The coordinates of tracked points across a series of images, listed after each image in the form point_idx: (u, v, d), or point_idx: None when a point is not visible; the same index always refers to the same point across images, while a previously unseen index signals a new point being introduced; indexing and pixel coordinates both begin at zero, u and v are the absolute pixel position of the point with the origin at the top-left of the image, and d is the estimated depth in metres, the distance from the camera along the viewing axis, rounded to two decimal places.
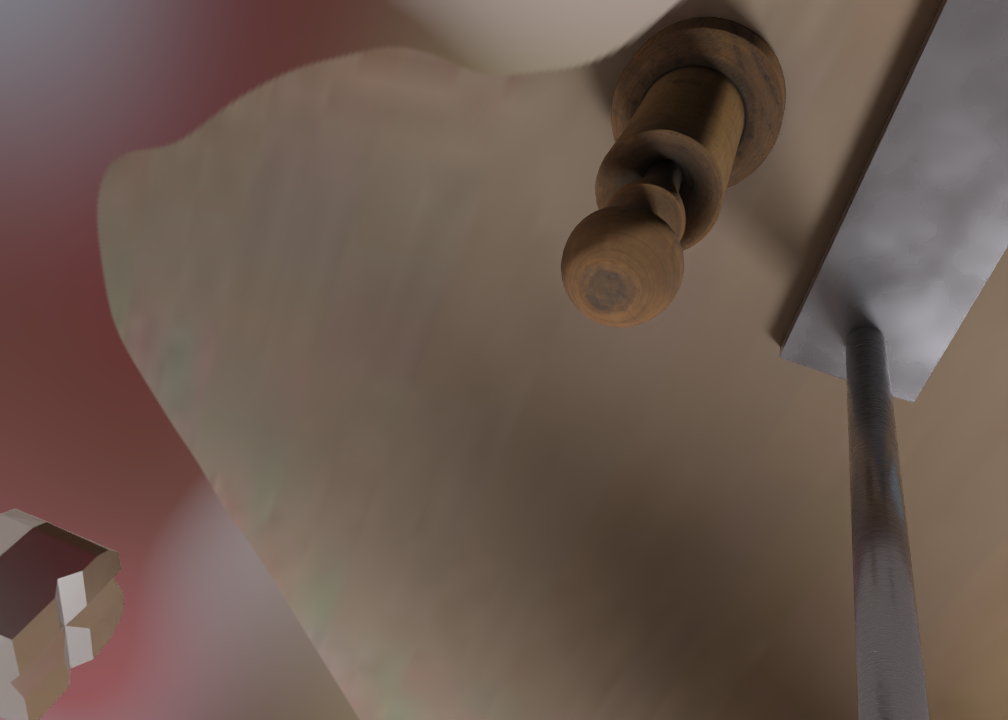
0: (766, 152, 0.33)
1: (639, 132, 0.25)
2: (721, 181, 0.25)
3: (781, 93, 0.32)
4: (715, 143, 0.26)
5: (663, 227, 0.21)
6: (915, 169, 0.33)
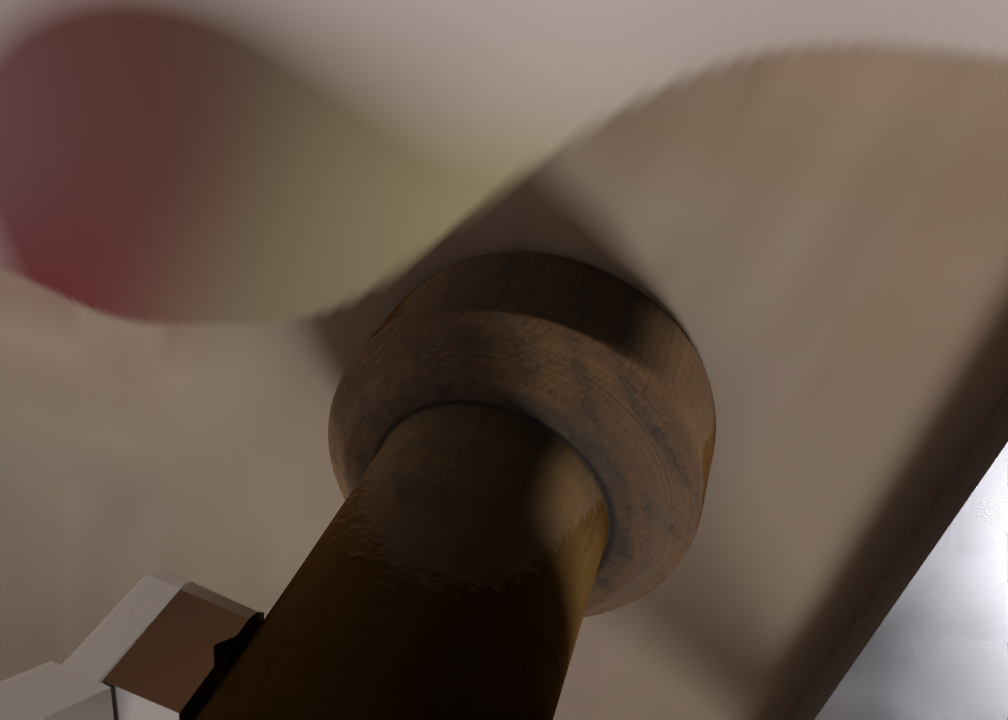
0: (669, 569, 0.14)
1: None
2: None
3: (696, 460, 0.13)
4: None
5: None
6: None
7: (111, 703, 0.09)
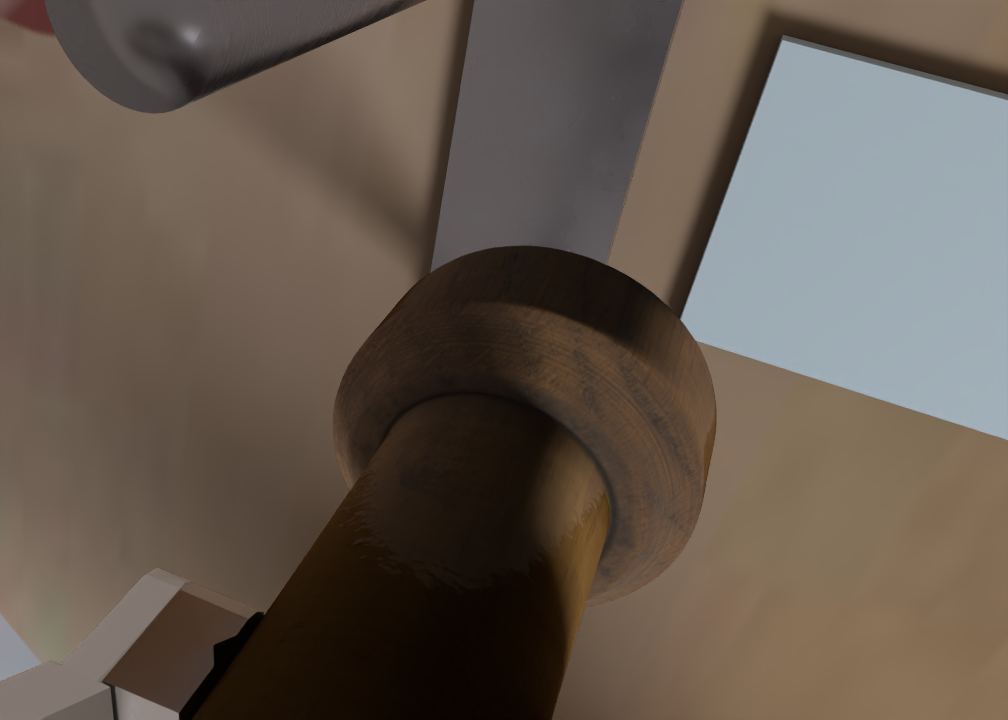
0: (670, 558, 0.14)
1: None
2: None
3: (697, 449, 0.13)
4: None
5: None
6: (501, 134, 0.28)
7: (111, 703, 0.09)
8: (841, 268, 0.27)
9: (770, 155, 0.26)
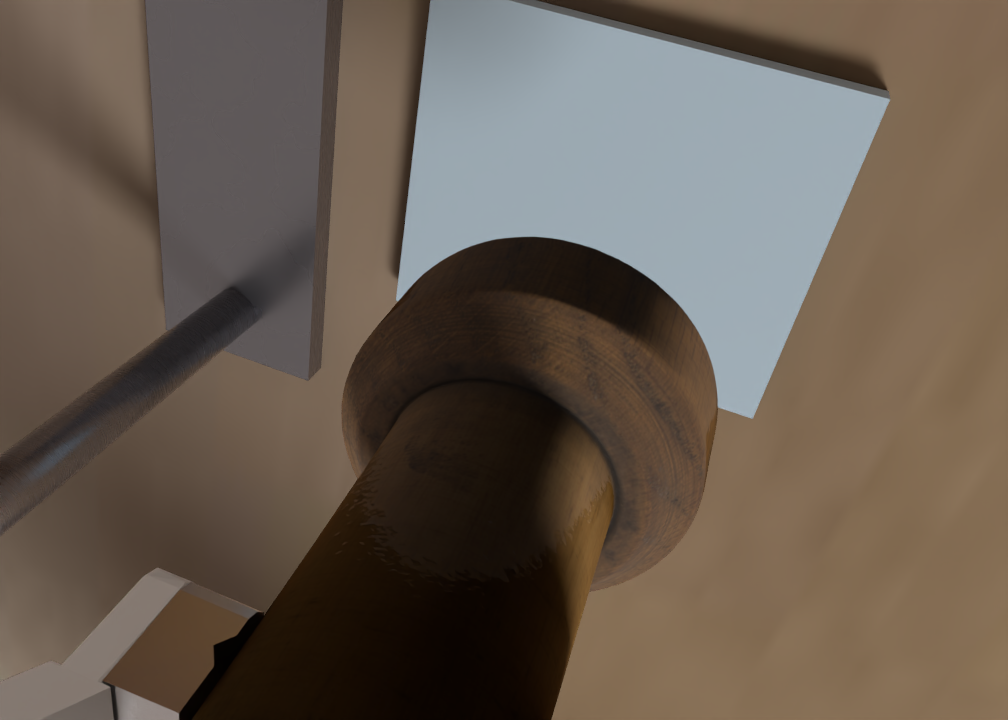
0: (673, 542, 0.15)
1: None
2: None
3: (699, 434, 0.14)
4: None
5: None
6: (194, 89, 0.27)
7: (111, 703, 0.09)
8: (536, 227, 0.25)
9: (446, 106, 0.24)
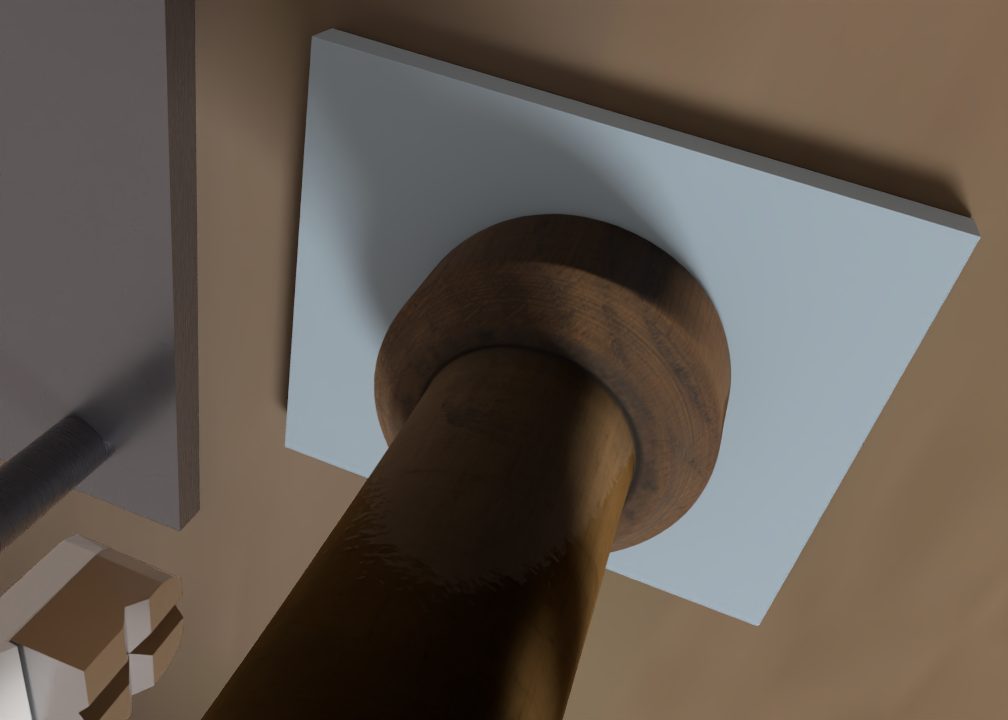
0: (689, 503, 0.15)
1: None
2: None
3: (715, 398, 0.14)
4: None
5: None
6: (0, 167, 0.19)
7: (19, 662, 0.10)
8: None
9: (339, 208, 0.17)
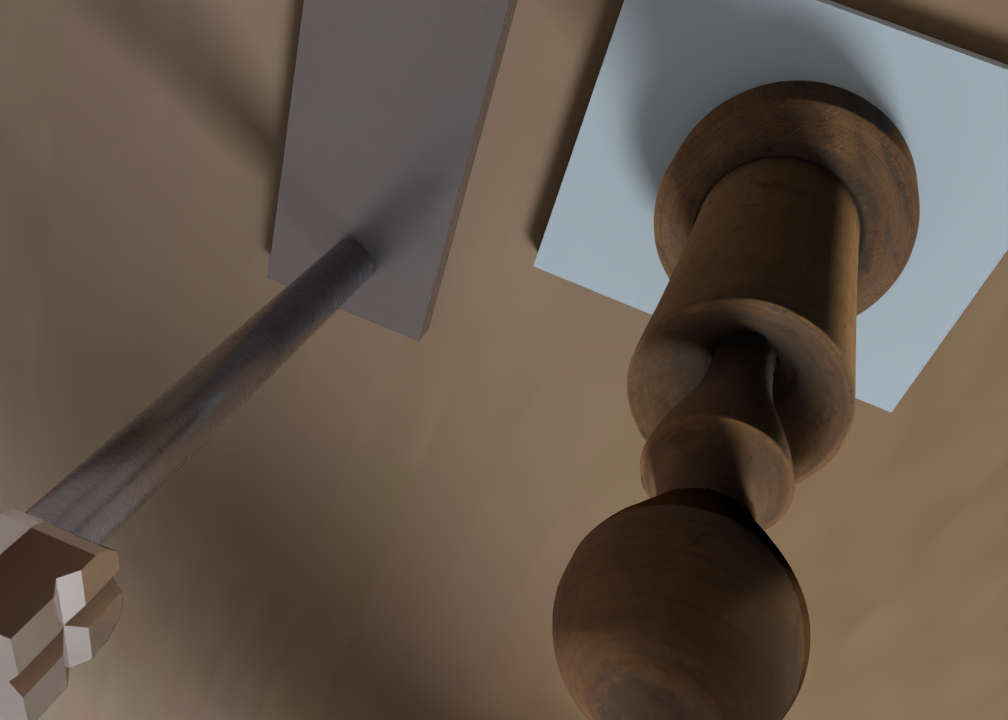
0: (883, 291, 0.22)
1: (716, 298, 0.14)
2: (854, 398, 0.14)
3: (918, 209, 0.21)
4: (843, 321, 0.15)
5: (778, 581, 0.10)
6: (351, 28, 0.25)
7: None
8: None
9: (632, 71, 0.24)
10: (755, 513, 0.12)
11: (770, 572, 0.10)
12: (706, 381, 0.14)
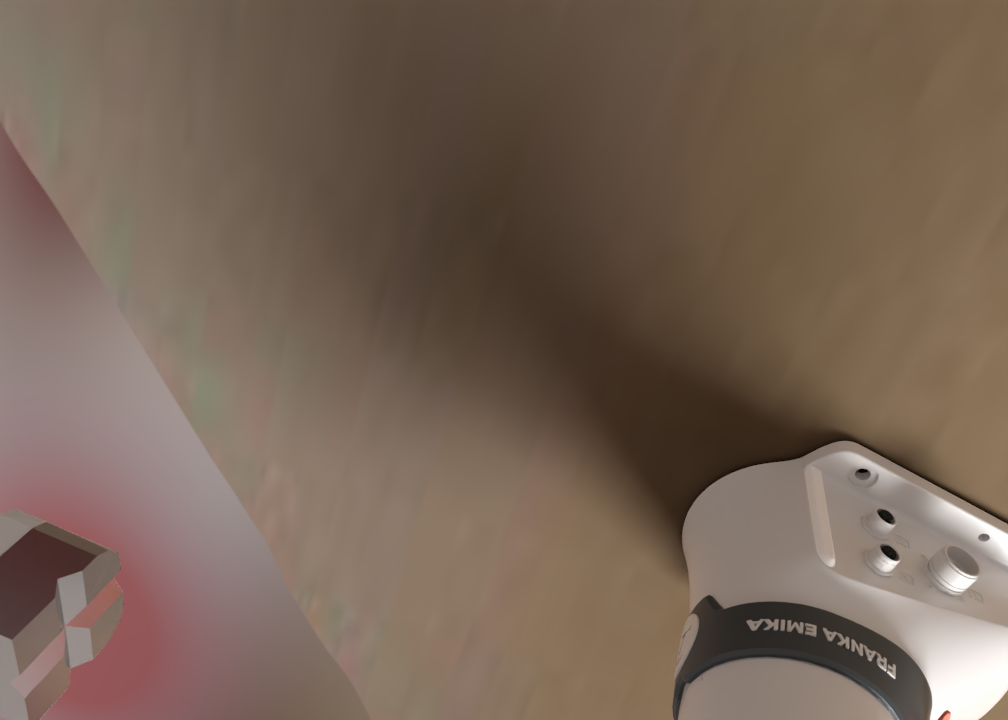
0: None
1: None
2: None
3: None
4: None
5: None
6: None
7: None
8: None
9: None
10: None
11: None
12: None
